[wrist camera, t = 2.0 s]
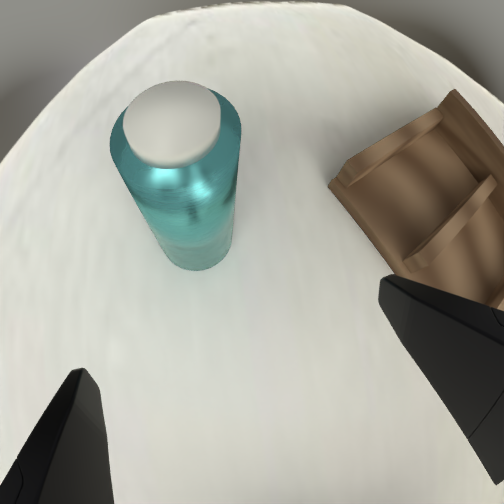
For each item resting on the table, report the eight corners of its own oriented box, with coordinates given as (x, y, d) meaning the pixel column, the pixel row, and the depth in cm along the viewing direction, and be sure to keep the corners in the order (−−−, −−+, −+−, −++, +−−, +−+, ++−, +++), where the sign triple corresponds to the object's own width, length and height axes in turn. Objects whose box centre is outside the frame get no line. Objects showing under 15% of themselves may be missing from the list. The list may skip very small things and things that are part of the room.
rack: (449, 357, 22) (499, 355, 16) (327, 186, 26) (354, 144, 20) (520, 253, 26) (559, 236, 20) (427, 123, 29) (455, 88, 23)
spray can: (185, 284, 22) (139, 203, 10) (149, 227, 23) (85, 108, 10) (245, 244, 24) (272, 128, 11) (206, 191, 25) (196, 53, 12)
